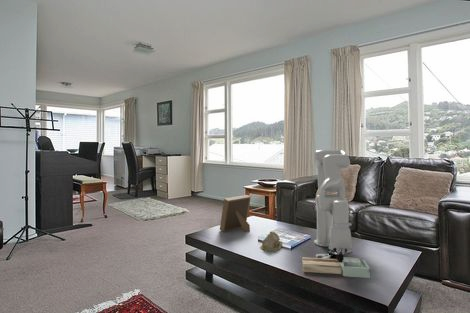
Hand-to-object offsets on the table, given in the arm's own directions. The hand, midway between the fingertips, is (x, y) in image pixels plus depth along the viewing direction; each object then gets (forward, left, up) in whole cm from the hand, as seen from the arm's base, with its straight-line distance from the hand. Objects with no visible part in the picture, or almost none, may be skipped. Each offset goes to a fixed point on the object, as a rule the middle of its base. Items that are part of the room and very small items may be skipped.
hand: (340, 261), depth 138 cm
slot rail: (0, -9, -5) cm, 10 cm away
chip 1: (0, +3, -2) cm, 4 cm away
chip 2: (0, +7, -2) cm, 8 cm away
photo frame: (-57, -61, -5) cm, 84 cm away
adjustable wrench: (-19, +1, -5) cm, 20 cm away
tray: (0, +6, -5) cm, 8 cm away
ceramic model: (-26, -35, -5) cm, 44 cm away
